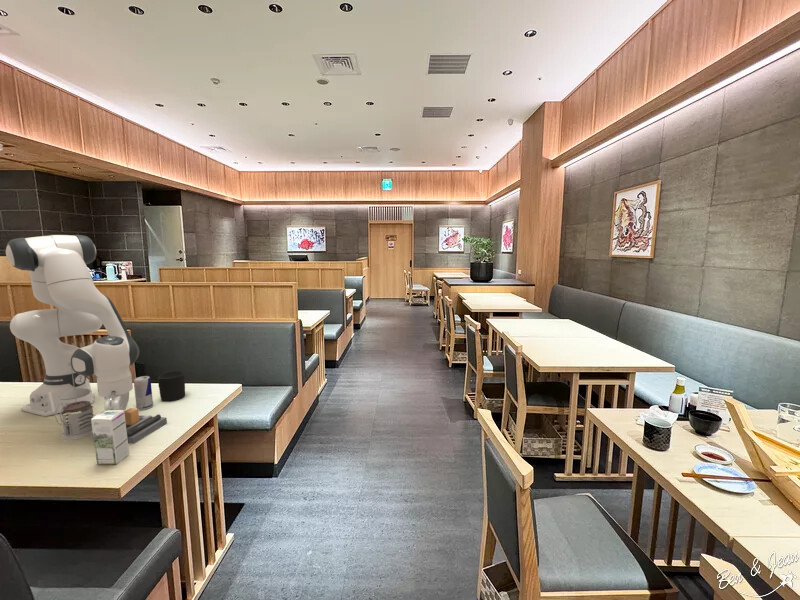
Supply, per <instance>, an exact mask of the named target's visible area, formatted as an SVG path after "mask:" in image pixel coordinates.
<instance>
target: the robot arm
mask: <svg viewBox="0 0 800 600" xmlns="http://www.w3.org/2000/svg"><path fill="white" fill-rule="evenodd" d="M5 255H6V259H7V260H8V262H10V264H11V265H12V266H13V267H14V268H16V270H20V271H29V272H28V273H29V278H30V284H31V289H32V293H33V297H34V298H35V299H36V300H37V301H38V302H41V303H42V304H47V305H49V306H53V307H55V308H46V309H36V310H33V309H32V310H29V311H25V312H21V313H16V314H15V315H14V316H13V317H12V319H11V320H10V322H9V330H10V332H11V334H12V335H13V336H14V337H16V338H17V339H19V340H21V341H24V342H26V343H29V344H30V345H32V346H33V347H35V348H36V349H37V350H38V351H39V354H40V355H41V357H42V360H43V363H44V368H45V374H42V375H41V378H40V379H42V380H43V381H42V384H40V385H39V386H38V387H37V388H36V389H34V390H33V391H32V392H31V393H30V395H29V403H28V404H25V405H23V407H22V408H21V411H22V412H26V413H30V414H33V415H37V416H38V415H39V416H42V417H50V416H53V415H55V412H56V409H57V407H58V406H59V405H60V404H61V403H63V406H64V405H65V404H66V403H68V404H71V403H75V402H80V401H89V402H91V403H90V405H92V404H93V402H95V399H94V398H95V397H96V396H95V393H93V391H92V387H91V383H90V379H88V378H87V377H89V376H96V385H97V394H98V396H99V397H102V398H103V399H104V400H105V402H104V411H107V410H124V413H125V411H126V410H127V406H128V403H129V400H130V392H131V391H132V390H133V389H134V384H133V378H132V377H133V376H132V372H131V369H130V366H133V364H135V363H136V361H137V359H138V358H139V356H140V347H139V346H138V344H137V342H136V341H135V340H134V338H133V337H132V336H131V335H130V333H129V330H128V329H127V327H126V325H125V322H124V321H123V319H122V317H121V315H120V314H119V311H118V310H117V307H115V304H114V303H113V301H112V300H111V298H110V297H109V296H107V295H105V294H103V293H102V292H100V291H99V289H98V288H97V287H96V285H95V284H94V281H93V278H92V275H91V273H90V270H89V268H88V266H87V265H88V264H92V263H93V262H94V261H95V260H96V258H97V257H96V256H97V249H96V246H95V243H94V242H93V240H92V239H91V238H90V237H89V236H87V235H82V234H74V235H69V234H50V235H41V236H32V237H25V238H24V237H19V238H18V237H17V238H13V239H10V240H9V241H8V242H7V244H6V249H5ZM102 326H104V328H105V331H106V332H107V334H108V335H107V336H103V337H102V336H101V337H99V338H97V339H96V340H94V342H93V343H91V344H89V345H86V346H83V347H78V346H76V345H74V344H69V343H65V342H62V341H61V340H60V338H62V337H63V338H64V337H71V336H81V335H87V334H90V333H94V332H97V331H99V330H100V329H101V328H102ZM68 362H71V366H72V370H71V366H67V364H68ZM72 371H73V378H72ZM73 379H74V385H73ZM74 387H75V389H76V388H84V389H89V390H91V392H90V393H89V394H88V395H86V396H83V397H80V398H76V401H75V399H71V400H61V399H59V398H58V397H59V396H60V395H61V394H63V393H64V392H66V391H69V390H72V389H74ZM66 405H67V404H66ZM63 406H62V404H61V405H60V406H59V407H58V409H57V412H56V415H57V414H60V411H61V409H62V407H63ZM63 411H64V410H63V409H62V412H63ZM62 412H61V414H62Z"/></svg>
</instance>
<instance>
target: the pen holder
mask: <svg viewBox="0 0 800 600" xmlns="http://www.w3.org/2000/svg"><path fill="white" fill-rule="evenodd" d="M185 375H186V374H185V373H184V372H183V371H181V370H173V371H172V370H171V371H167V372H162V373H161V374H160V375H158V377H157V382H158V388H159V389H158V390H159V396H160V400H161V401H163V402H166V403H167V402H176V401H178V400H181V399H183V398H184V397H185V396H186V378H185Z"/></svg>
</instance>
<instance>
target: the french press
mask: <svg viewBox="0 0 800 600" xmlns="http://www.w3.org/2000/svg"><path fill="white" fill-rule="evenodd" d="M67 366H71V362H68V364H67ZM71 370H72V366H71ZM72 378H73V371H72ZM73 385H74V379H73ZM91 390H92V389H91ZM91 390H89V389H84V388H76V389H75V387H74V389H72V390H69V391H66V392H64V393H63V394H61V395H60V396H59V397H58V398H59V399H61V400H71V399H75V401H76V398H80V397H83V396H86V395H88V394H89V393H90V392H91ZM90 403H91V402H89V401H80V402H75V403H71V404H68V403H66V404H67V405H66V404H65V405H64V406H63V403H61V404H62V406H63V407H62V409H63V410H64V411H63V412H62V409H61V411H60V413H59V419H60V421H61V423H60V422H59V421H58V420H57V419H58V418H57V414H56V412H57V409H58V407H59V406H60V405H61V404H60V405H59V406H58V407H57V409H56V412H55V414H54V417H55V421H56V423H57V424H59V425H61V426H62V428H63V433H62V434H61V435H60V439H62V440H65V441H66V440H67V441H69V440H77V439H80V438H81V439H82V438H84V437H87V436H90V435H93V431H92V424H91V419H92V418H93V417H94V410H93V409H94V408H93V406H92V403H91V404H90ZM61 412H62V413H61ZM67 413H70V414H67ZM71 413H74V414H71Z"/></svg>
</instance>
